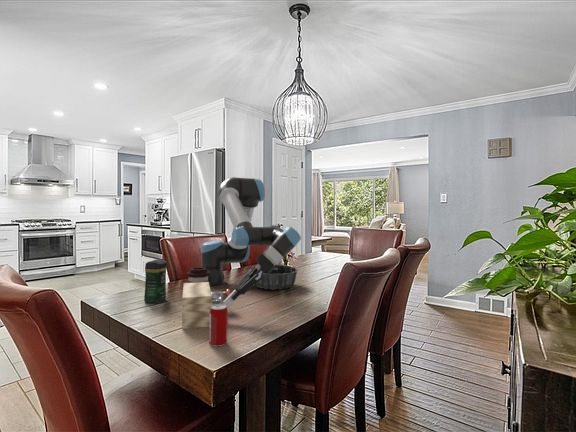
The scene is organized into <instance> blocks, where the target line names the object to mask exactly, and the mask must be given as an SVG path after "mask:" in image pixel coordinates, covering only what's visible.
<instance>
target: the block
mask: <svg viewBox="0 0 576 432" xmlns="http://www.w3.org/2000/svg"><path fill="white" fill-rule="evenodd" d="M211 292H212V291H211V285H209V282H197V283H188V282H183V288H182V303H181V304H182V305H181V306H182V308H181V309H182V310H181V315H182V316H181V329H182V330H185V329H186V330H187V329H198V328H209V321H210V309H211V306H212V294H211Z"/></svg>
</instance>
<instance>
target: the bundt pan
mask: <svg viewBox="0 0 576 432" xmlns="http://www.w3.org/2000/svg"><path fill="white" fill-rule="evenodd" d="M254 266H255V265H254ZM254 266H253V265H252V267H250V268H253V267H254ZM274 266H275V268H274V269H273V270H272V271H271V272H270V273H268V272H267V271H265V272H264V273H263V275H262V276H261V277H262V279H261V280H260V281H258V282H257V283H256V284H255V285H254V286H255V287H257V288H259V289H263V288H264V289H265V290H266V291H268V290H271V291H275V290H278V291H281V290H287V289H290V288H292V287H293V286H294V284H295V282H296V279H297V274H298V272H299V269H298V268H297V267H294V266H292V265H285V264H277V265H274ZM267 289H268V290H267Z"/></svg>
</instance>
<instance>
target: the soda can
mask: <svg viewBox="0 0 576 432" xmlns="http://www.w3.org/2000/svg"><path fill="white" fill-rule="evenodd" d="M228 312H229V311H228V307H227V306H226V305H225V304H224V303H223V304H215V305H212V306H211V309H210V321H209V327H208V329H209V333H208V336H209V337H208V343H209V345H210V346H212V347H214V348H215V347H216V348H217V347H218V346H219V347H223V346H225V344H227V342H228V316H229V315H228Z"/></svg>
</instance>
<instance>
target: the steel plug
mask: <svg viewBox="0 0 576 432" xmlns="http://www.w3.org/2000/svg"><path fill="white" fill-rule="evenodd" d="M215 304H224V303H223V298H222V297H219V299H215V300H212V305H215Z"/></svg>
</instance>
